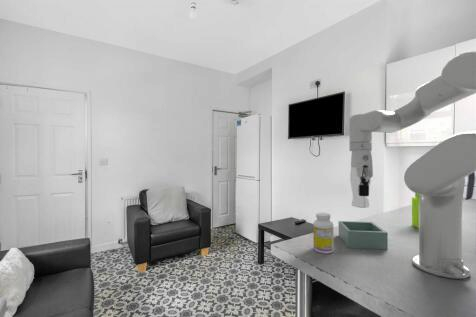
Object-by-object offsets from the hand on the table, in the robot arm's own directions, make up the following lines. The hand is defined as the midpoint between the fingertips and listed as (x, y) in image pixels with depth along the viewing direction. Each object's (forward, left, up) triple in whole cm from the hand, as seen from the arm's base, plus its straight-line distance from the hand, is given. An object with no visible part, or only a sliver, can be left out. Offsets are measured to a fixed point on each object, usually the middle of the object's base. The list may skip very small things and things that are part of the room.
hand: (360, 193), depth 89 cm
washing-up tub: (0, 0, -18) cm, 18 cm away
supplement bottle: (-10, +16, -19) cm, 26 cm away
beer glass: (0, 0, -5) cm, 5 cm away
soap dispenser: (+23, -33, -19) cm, 44 cm away
